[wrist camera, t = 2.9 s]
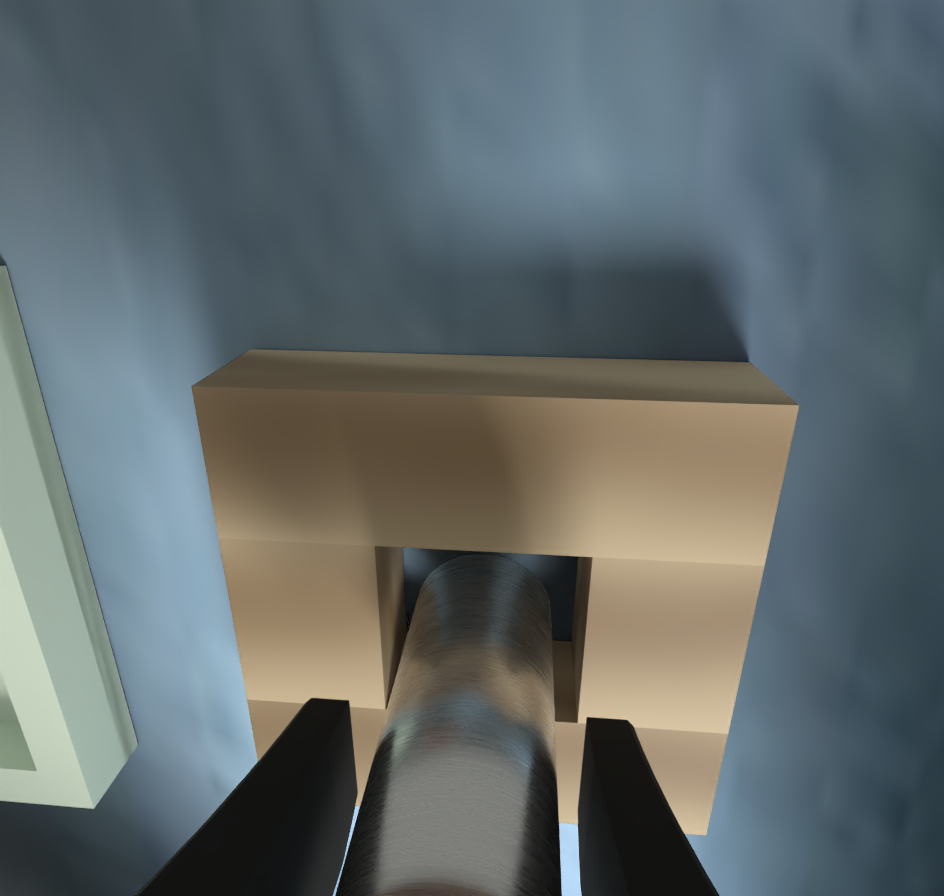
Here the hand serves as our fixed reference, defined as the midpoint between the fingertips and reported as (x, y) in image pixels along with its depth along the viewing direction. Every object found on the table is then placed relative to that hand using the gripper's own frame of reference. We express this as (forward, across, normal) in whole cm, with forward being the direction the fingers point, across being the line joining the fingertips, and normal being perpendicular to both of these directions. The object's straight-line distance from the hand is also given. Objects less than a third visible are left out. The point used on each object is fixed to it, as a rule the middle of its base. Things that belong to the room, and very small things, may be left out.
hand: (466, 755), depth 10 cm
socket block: (+5, 0, 0) cm, 5 cm away
